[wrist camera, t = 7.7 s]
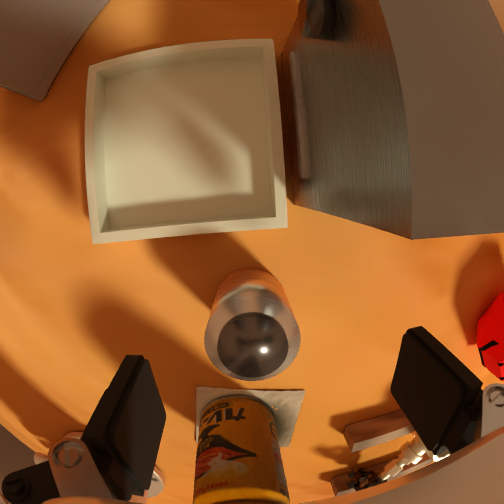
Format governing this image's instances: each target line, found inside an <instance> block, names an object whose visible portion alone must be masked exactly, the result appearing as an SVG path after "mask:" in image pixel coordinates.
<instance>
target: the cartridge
mask: <svg viewBox="0 0 504 504" xmlns="http://www.w3.org/2000/svg"><path fill="white" fill-rule="evenodd" d="M204 343H205V349H206V352H207V355H208V357H209V358H210V360H211V361H212V363H213V364H214V365H215V366H216V367H217V368H218V369H219V370H220V371H222V372H223V373H225V374H226V375H228V376H231V377H233V378H236V379H240V380H246V381H257V380H263V379H267V378H271V377H273V376H275V375H277V374H279V373H281V372H282V371H283V370H285V369H286V368H287V367H288V366H289V365H290V364H291V363H292V362H293V360H294V359H295V357H296V355H297V353H298V350H299V347H300V331H299V327H298V325H297V322H296V320H295V317H294V315H293V312H292V310H291V307H290V305H289V302H288V300H287V297H286V295H285V292H284V290H283V288H282V286H281V284H280V283H279V281H278V280H277V279H276V278H275V277H274V276H273V275H271V274H270V273H268V272H266V271H264V270H260V269H255V268H246V269H241V270H238V271H235V272H233V273H231V274H230V275H228V276H227V277H226V278H225V279H224V280H223V281H222V282H221V284H220V285H219V287H218V290H217V293H216V296H215V299H214V303H213V306H212V310H211V313H210V317H209V320H208V324H207V328H206V331H205V337H204Z"/></svg>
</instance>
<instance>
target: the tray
mask: <svg viewBox="0 0 504 504" xmlns="http://www.w3.org/2000/svg"><path fill="white" fill-rule="evenodd" d="M85 171H86V188H87V200H88V210H89V219H90V228H91V235H92V242H93V244H100V243H110V242H120V241H130V240H140V239H151V238H161V237H172V236H184V235H195V234H207V233H220V232H233V231H246V230H260V229H274V228H288V222H287V201H286V183H285V167H284V152H283V138H282V125H281V112H280V101H279V90H278V79H277V69H276V60H275V50H274V42H273V39H231V40H216V41H205V42H196V43H187V44H180V45H173V46H167V47H162V48H156V49H151V50H146V51H141V52H137V53H133V54H128V55H124V56H120V57H117V58H113V59H109V60H106V61H103V62H99V63H96V64H93V65H90V66H89V69H88V79H87V91H86V107H85Z"/></svg>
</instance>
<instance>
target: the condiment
mask: <svg viewBox="0 0 504 504" xmlns="http://www.w3.org/2000/svg"><path fill="white" fill-rule="evenodd" d="M304 394H305V391H259V390H247V389H227V388H213V387H196V443H198V446H197V452H196V454H197V456H196V467H195V480H194V495H193V504H290V499H289V492H288V488H287V481H286V477H285V474H284V468H283V464H282V459H281V453H280V447H289V444H290V441H291V437H292V434H293V430H294V427H295V424H296V420H297V417H298V416H297V415H298V414H299V411H300V408H301V404H302V401H303V398H304ZM271 406H273V407H274V408H272V407H271ZM275 408H277V409H278V410H275Z"/></svg>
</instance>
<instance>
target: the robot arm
mask: <svg viewBox="0 0 504 504" xmlns="http://www.w3.org/2000/svg"><path fill="white" fill-rule="evenodd" d="M482 384H483V383H482V382H481V381H480V380H479V379H478V378H477V377H476V376H475V375H474V374H473V373H472V372H471V371H470V370H469V369H468V368H467V367H466V366H465V365H464V364H463V363H462V362H461V361H460V360H459V359H458V358H457V357H455V356H454V355H453V354H452V353H451V352H450V351H449V350H448V349H447V348H446V347H445V346H444V345H443V344H441V343H440V342H439V341H438V340H437V339H436V338H435V337H434V336H433V335H431V334H430V333H429V332H428V331H427V330H426V329H425V328H424V327H422V326H419V327H414V328H410V329H408V330H407V331H406V333H405V334H404V335H403V338H402V343H401V348H400V352H399V356H398V361H397V365H396V369H395V373H394V376H393V380H392V384H391V393H392V395H393V397H394V398H395V400H396V401H397V403H398V404H399V406H400V407H401V409H402V411H403V412H404V414H405V415H406V417H407V418H408V420H409V421H410V423H411V425H412V426H413V428H414V429H415V431H416V432H417V434H418V436H419V437H420V439H421V440H422V442H423V444H424V445H425V447H426V448H427V450H429V451H432V453H433V454H434V456H437V455H439V454H441V453H443V452H445V451H446V450H447V449H448V450H449V452H450V453H449V456H447V457H445V458H443V459H441V460H439V461H436V462H434V463H432V464H430V465H428V466H426V467H423V468H421V469H419V470H416V471H414V472H412V473H409V474H407V475H404V476H402V477H399V478H396V479H394V480H391V481H388V482H385V483H382V484H379V485H376V486H373V487H370V488H366V489H363V490H360V491H356V492H352V493H349V494H345V495H341V496H336V497H332V498H327V499H323V500H318V501H312V502H307V503H300V504H504V385H503V384H498V383H496V384H490V385H488V386H487V387H485V389H484V390H482V389H481V387H482ZM165 421H166V412H165V409H164V406H163V403H162V400H161V398H160V395H159V392H158V389H157V386H156V383H155V379H154V376H153V373H152V370H151V367H150V363H149V361H148V360H147V359H144V357H143V356H142V355H126V356H125V358H124V360H123V362H122V363H121V365H120V367H119V369H118V371H117V372H116V374H115V376H114V378H113V380H112V382H111V383H110V385H109V387H108V389H106V390H105V392H104V394H103V395H102V397H101V399H100V401H99V403H98V405H97V407H96V409H95V411H94V413H93V414H92V416H91V418H90V420H89V422H88V424H87V426H86V428H85V430H84V432H71V433H68V434H66V435H65V436H63V438H62V439H60V440H58V441H56V442H55V443H54V444H53V445H52V446H51V447H50V449H49V452H48V455H45V454H43V453H40V452H37V453H35V455H34V461H35V463H36V465H34V466H31V467H28V468H25V469H22V470H19V471H16V472H12V473H10V474H8V476H6V477H5V478H4V480H3V482H2V491H1V492H0V504H146V502H147V498H149V497H153V496H157V495H158V494H160V493H161V492H162V491H163V488H164V483H165V482H164V477H163V475H162V473H161V472H160V470H159V469H158V468H157V467H156V466H155V462H156V458H157V454H158V450H159V445H160V441H161V437H162V433H163V429H164V425H165Z"/></svg>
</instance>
